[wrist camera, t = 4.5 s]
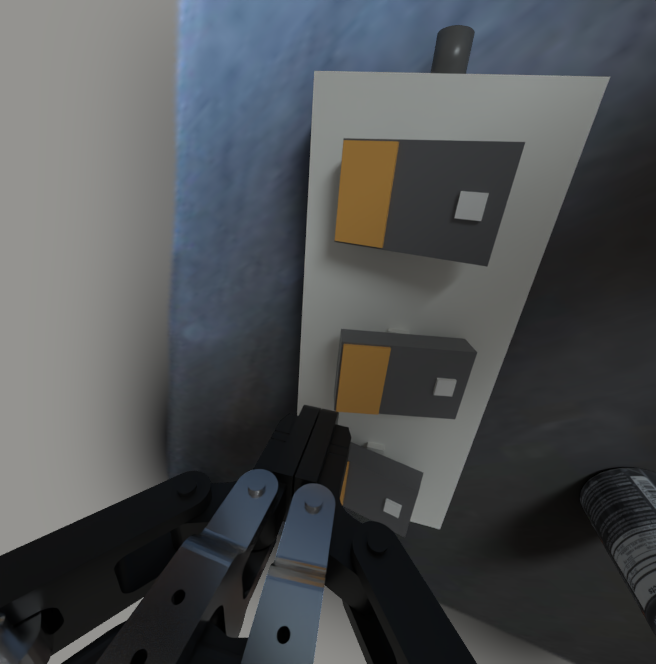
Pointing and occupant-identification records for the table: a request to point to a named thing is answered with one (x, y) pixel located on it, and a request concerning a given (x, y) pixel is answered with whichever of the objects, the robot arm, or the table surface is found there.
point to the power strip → (425, 272)
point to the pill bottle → (627, 528)
